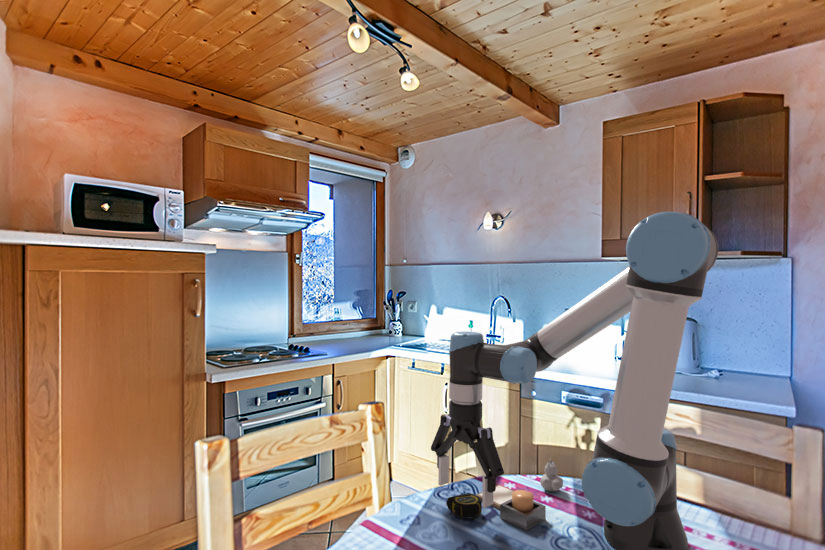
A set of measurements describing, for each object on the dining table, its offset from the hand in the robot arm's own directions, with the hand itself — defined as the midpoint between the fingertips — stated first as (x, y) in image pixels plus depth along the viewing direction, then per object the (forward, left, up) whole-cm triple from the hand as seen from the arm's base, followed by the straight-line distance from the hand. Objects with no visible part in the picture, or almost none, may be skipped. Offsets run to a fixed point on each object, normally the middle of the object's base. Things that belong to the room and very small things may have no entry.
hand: (464, 494), depth 105 cm
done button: (-10, -8, -2) cm, 13 cm away
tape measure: (0, 0, -5) cm, 5 cm away
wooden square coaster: (-1, -12, -4) cm, 13 cm away
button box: (-10, -8, -4) cm, 14 cm away
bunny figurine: (-6, -25, -5) cm, 26 cm away
